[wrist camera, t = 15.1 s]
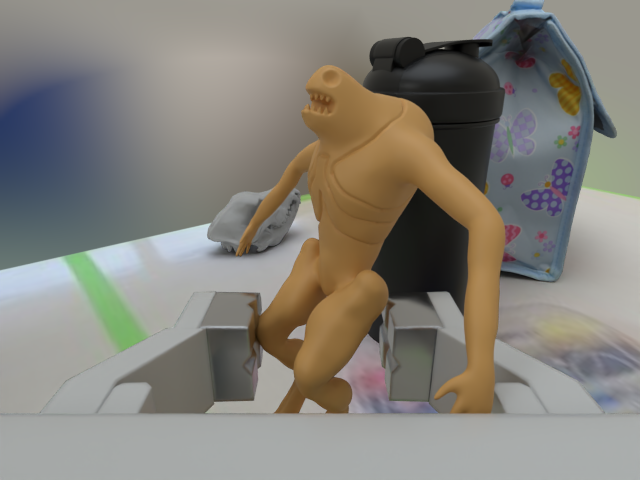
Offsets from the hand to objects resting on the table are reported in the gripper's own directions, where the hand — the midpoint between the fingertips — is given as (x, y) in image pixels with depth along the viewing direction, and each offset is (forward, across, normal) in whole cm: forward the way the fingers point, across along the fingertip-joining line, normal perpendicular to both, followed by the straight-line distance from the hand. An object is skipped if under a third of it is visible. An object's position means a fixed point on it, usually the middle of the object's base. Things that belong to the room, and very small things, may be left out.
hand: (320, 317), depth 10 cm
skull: (+43, +8, +16) cm, 46 cm away
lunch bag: (+42, -22, +15) cm, 50 cm away
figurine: (-1, 0, +7) cm, 7 cm away
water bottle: (+24, -8, +16) cm, 30 cm away
